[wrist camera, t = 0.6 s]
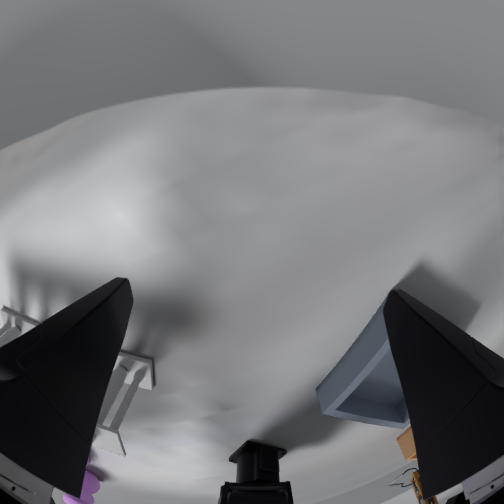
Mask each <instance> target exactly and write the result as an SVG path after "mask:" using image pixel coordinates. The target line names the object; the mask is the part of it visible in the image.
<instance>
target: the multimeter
mask: <svg viewBox="0 0 504 504" xmlns="http://www.w3.org/2000/svg"><path fill="white" fill-rule="evenodd" d="M412 469H416V468H412ZM408 470H410V469H408ZM408 470H407V471H408ZM416 470H417V469H416ZM407 471H405V472H407ZM405 472H404V473H405ZM404 473H403V474H404ZM403 474H401V475H400V476H399V477H398V478H397V479H395V481H397V480H398V479H399V478H400V477H402V476H403ZM401 484H402V483H401ZM396 485H399V484H393V485H389V487H391V486H396ZM402 485H403V484H402ZM410 485H412V486H413V489H414V491H415V494H416V497H417V499H418V502H419V504H438V501H437V499H436V496H433V497H431V498H429V499H426V500H423V496H422V488H421V480H420V473H419V470H417V471H416V472H413V474H412V479H411V484H410ZM407 486H408V485H407ZM384 487H387V486H384ZM402 487H406V486H402Z"/></svg>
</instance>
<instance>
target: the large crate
mask: <svg viewBox="0 0 504 504" xmlns="http://www.w3.org/2000/svg"><path fill="white" fill-rule="evenodd" d="M387 297H388V296H387ZM387 297H386V299H385V300H384V302H383V303H382V305H381V306H380V308H379V309H378V310H377V312H376V313H375V315H374V316H373V318H372V319H371V320H370V322H369V323H368V325H367V326H366V327H365V329H364V330H363V331H362V333H361V334H360V336H359V337H358V338H357V339H356V341H355V342H354V343H353V345H352V346H351V347H350V349H349V350H348V351H347V352H346V354H345V355H344V356H343V357H342V359H341V360H340V361H339V362H338V364H337V365H336V366H335V367H334V368H333V370H332V371H331V372H330V373H329V374H328V376H327V377H326V378H325V379H324V380H323V381H322V382H321V384H320V385H319V386H318V387H317V388H316V392H317V396H318V400H319V404H320V408H321V412H322V414H325V415H329V416H333V417H338V418H342V419H347V420H352V421H357V422H362V423H368V424H374V425H380V426H386V427H393V428H401V429H404V428H405V427H406V426H407V425H408V424H409V423H410V420H409V415H408V411H407V407H406V403H405V399H404V395H403V391H402V387H401V384H400V380H399V376H398V373H397V369H396V366H395V363H394V359H393V356H392V352H391V349H390V344H389V340H388V335H387V330H386V326H385V321H384V317H383V307H384V305H385V302H386V300H387Z"/></svg>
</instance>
